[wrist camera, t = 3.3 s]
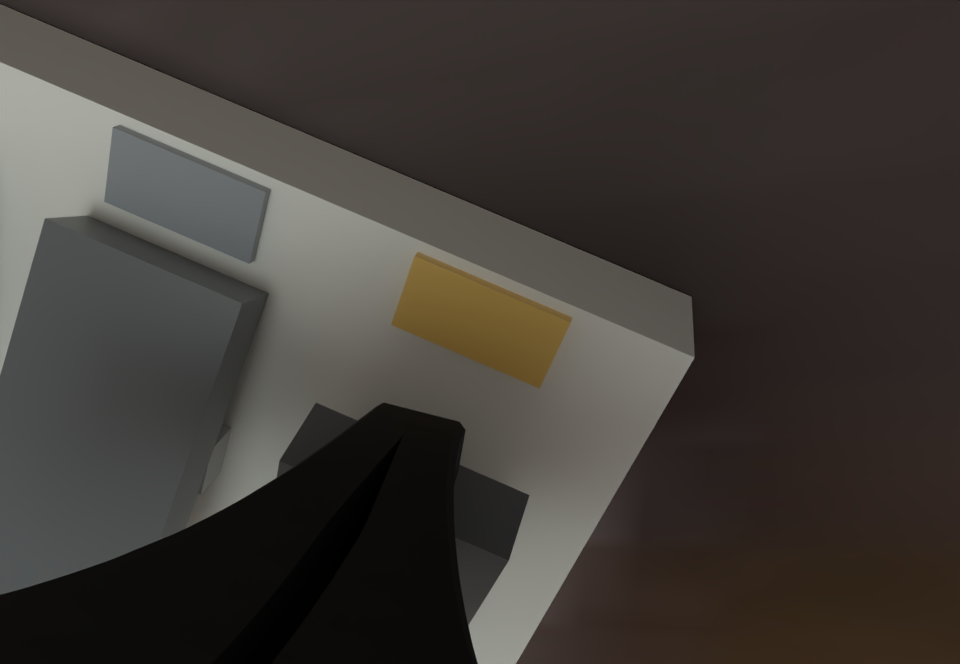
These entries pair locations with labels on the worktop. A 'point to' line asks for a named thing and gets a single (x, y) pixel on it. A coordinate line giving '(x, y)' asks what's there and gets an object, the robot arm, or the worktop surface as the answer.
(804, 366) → the worktop surface
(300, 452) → the rocker
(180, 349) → the rocker
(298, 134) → the switch panel
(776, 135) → the worktop surface
